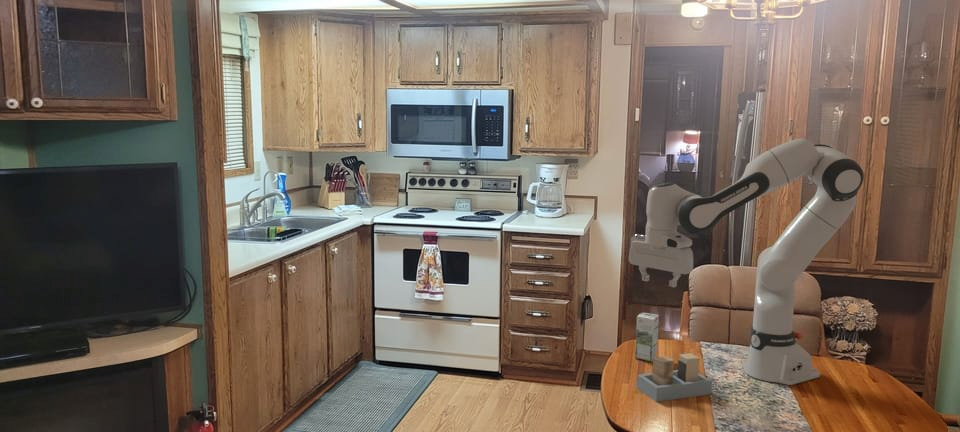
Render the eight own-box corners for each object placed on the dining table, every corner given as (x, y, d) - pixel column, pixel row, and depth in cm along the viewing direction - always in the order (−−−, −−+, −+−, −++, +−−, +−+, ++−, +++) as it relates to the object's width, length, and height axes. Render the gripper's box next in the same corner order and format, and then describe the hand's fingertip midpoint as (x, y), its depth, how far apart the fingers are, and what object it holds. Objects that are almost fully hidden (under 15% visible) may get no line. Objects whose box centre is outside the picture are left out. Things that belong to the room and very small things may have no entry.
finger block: (662, 385, 197) (664, 355, 196) (673, 390, 194) (674, 359, 193) (651, 388, 195) (653, 358, 194) (662, 393, 192) (663, 362, 190)
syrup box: (657, 357, 223) (659, 314, 221) (651, 362, 218) (653, 318, 216) (640, 353, 226) (642, 311, 224) (634, 358, 221) (636, 315, 219)
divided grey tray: (689, 381, 203) (691, 349, 202) (710, 394, 194) (713, 360, 192) (636, 387, 198) (638, 355, 196) (656, 401, 188) (657, 367, 187)
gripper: (625, 234, 206) (623, 279, 208) (685, 243, 190) (683, 291, 192) (637, 232, 210) (636, 275, 212) (697, 241, 195) (695, 288, 197)
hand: (658, 283), depth 202 cm, fingers open, 8 cm apart
